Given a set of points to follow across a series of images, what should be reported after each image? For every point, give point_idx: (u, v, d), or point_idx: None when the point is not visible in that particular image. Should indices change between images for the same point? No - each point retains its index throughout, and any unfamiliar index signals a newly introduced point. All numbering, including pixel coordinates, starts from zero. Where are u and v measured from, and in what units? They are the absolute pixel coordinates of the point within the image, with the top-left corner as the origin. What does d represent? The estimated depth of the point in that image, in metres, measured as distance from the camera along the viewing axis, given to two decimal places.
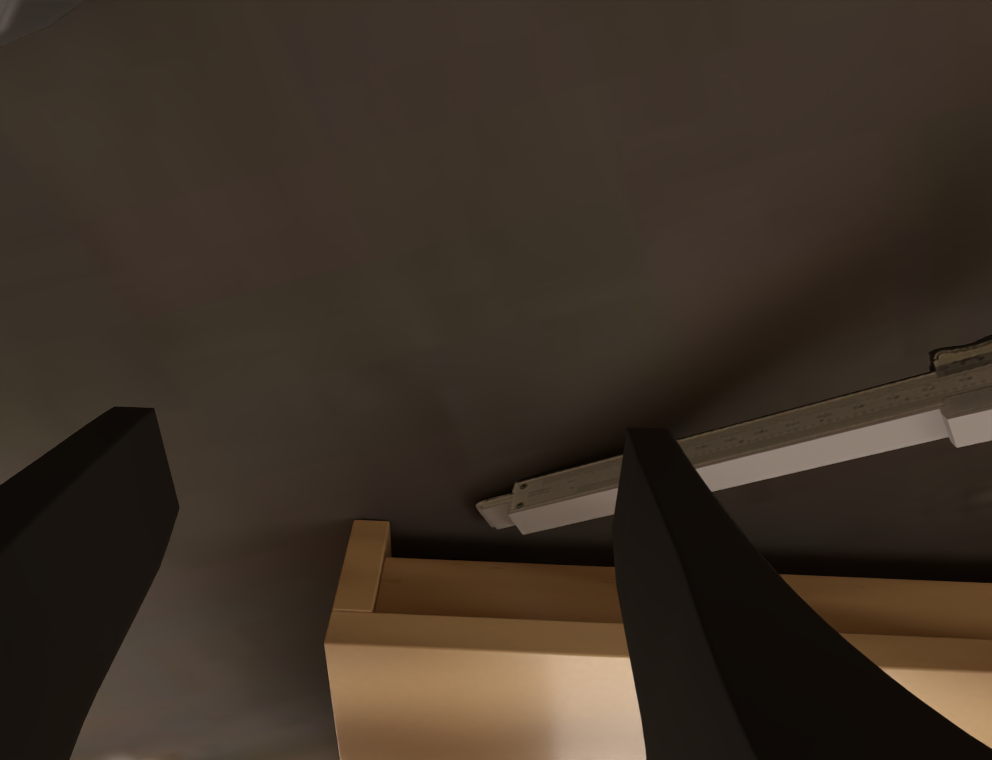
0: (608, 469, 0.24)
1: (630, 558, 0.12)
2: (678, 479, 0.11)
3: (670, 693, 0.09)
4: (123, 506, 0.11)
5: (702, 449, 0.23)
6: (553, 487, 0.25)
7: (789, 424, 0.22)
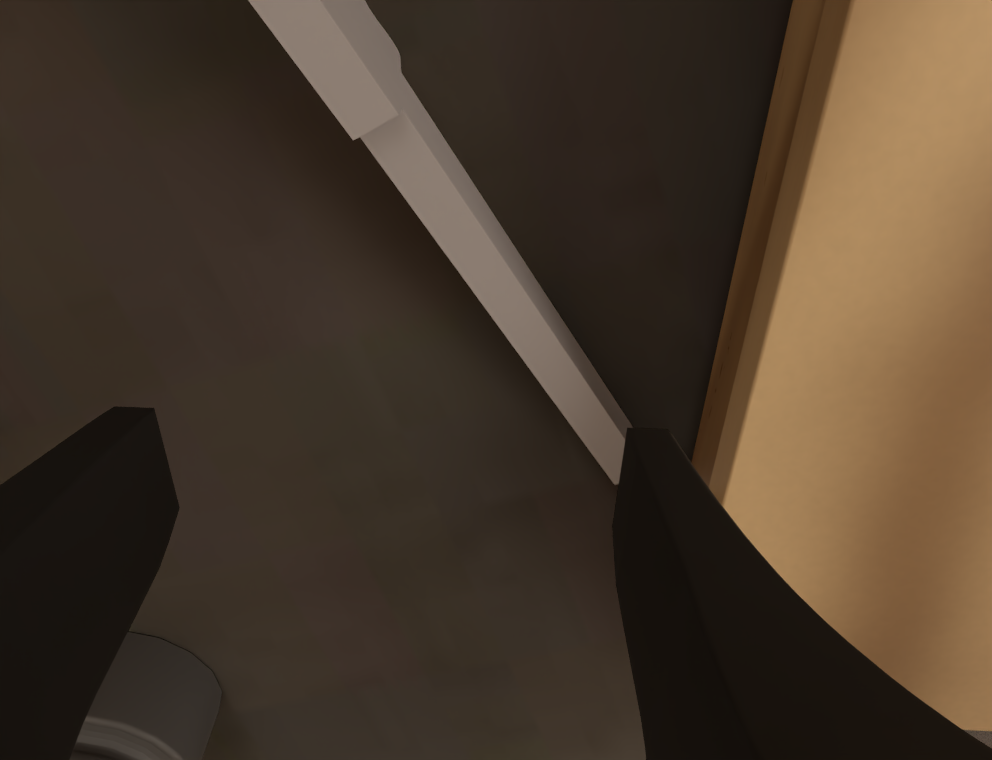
0: None
1: (629, 558, 0.12)
2: (678, 479, 0.11)
3: (670, 693, 0.09)
4: (123, 506, 0.11)
5: None
6: None
7: None
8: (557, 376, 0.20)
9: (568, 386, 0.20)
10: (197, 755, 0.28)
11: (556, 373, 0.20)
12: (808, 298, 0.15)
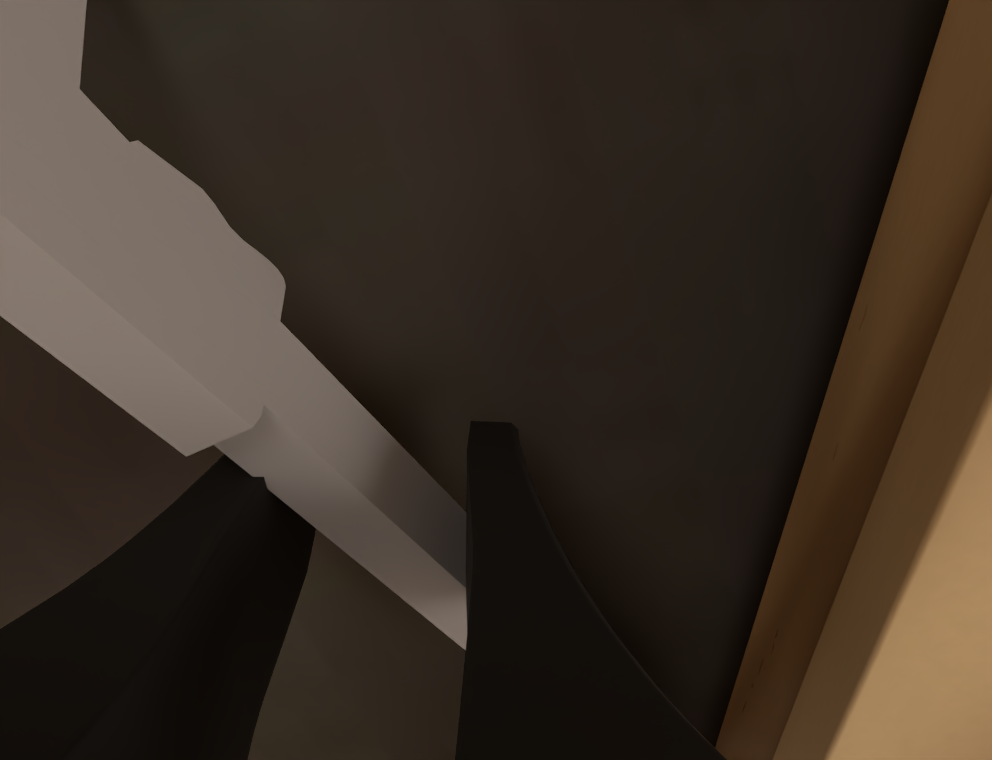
0: None
1: (467, 551, 0.12)
2: (500, 472, 0.11)
3: None
4: (286, 513, 0.11)
5: None
6: None
7: None
8: None
9: None
10: None
11: None
12: (913, 682, 0.10)
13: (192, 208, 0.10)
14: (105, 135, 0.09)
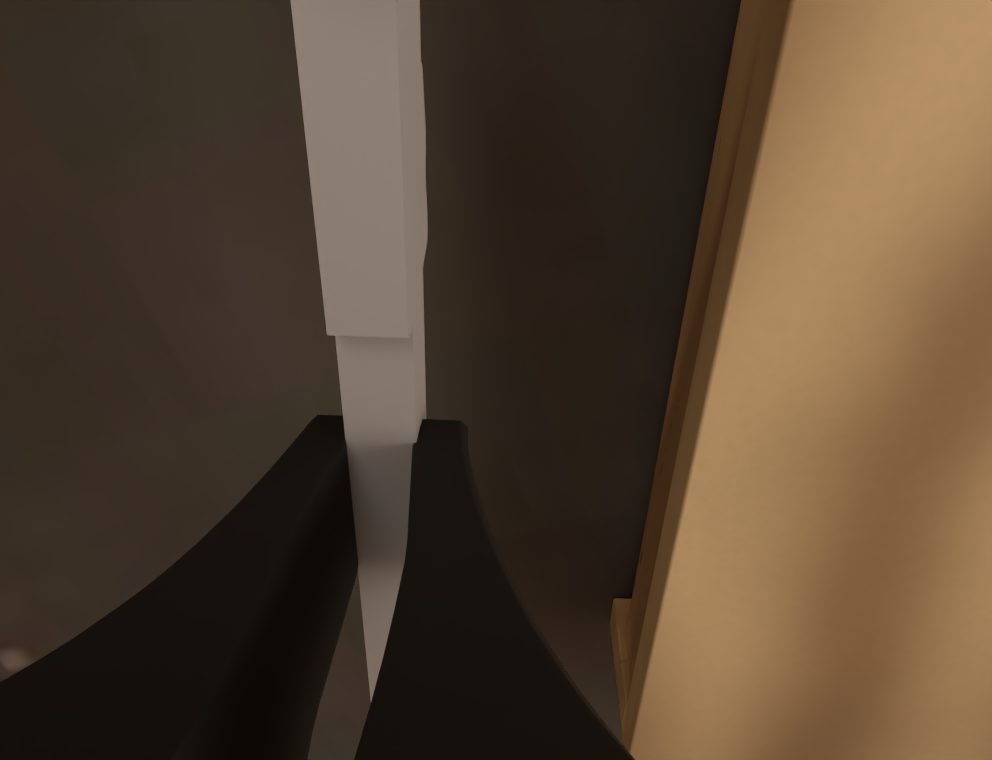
0: None
1: None
2: (443, 469, 0.11)
3: None
4: (341, 515, 0.11)
5: None
6: None
7: None
8: None
9: None
10: None
11: None
12: (744, 374, 0.15)
13: (422, 140, 0.11)
14: (419, 46, 0.10)
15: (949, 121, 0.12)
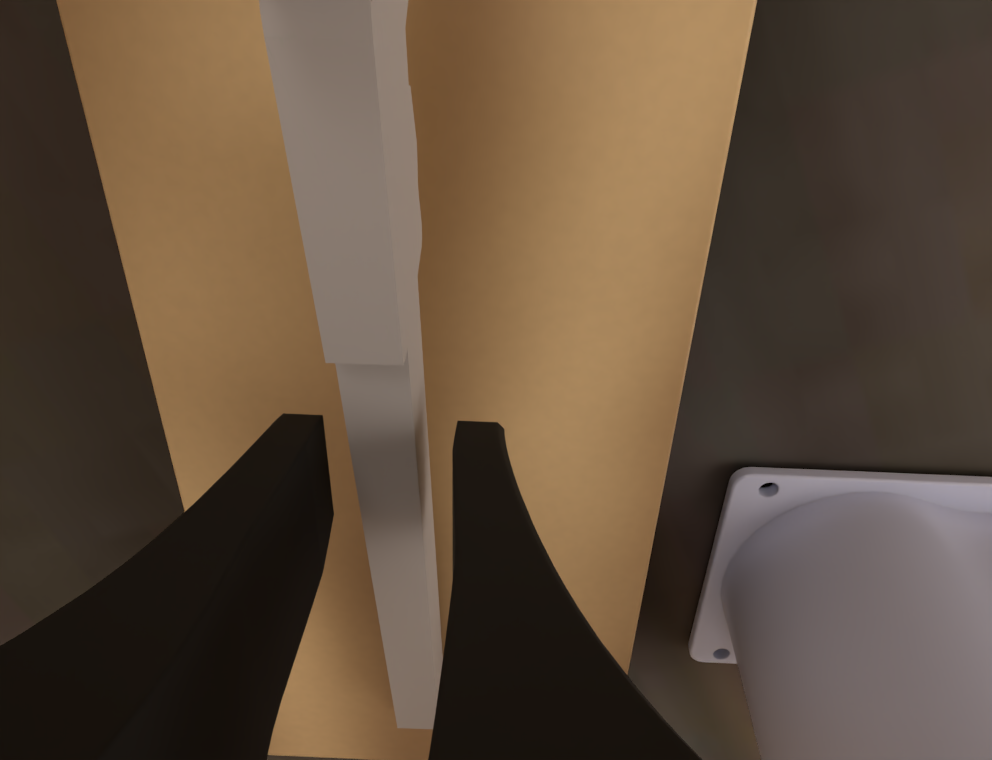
0: None
1: None
2: (484, 471, 0.11)
3: None
4: (303, 514, 0.11)
5: None
6: None
7: None
8: (404, 632, 0.16)
9: (410, 644, 0.16)
10: None
11: (406, 630, 0.16)
12: (176, 353, 0.15)
13: (413, 157, 0.11)
14: (405, 74, 0.10)
15: (257, 97, 0.12)
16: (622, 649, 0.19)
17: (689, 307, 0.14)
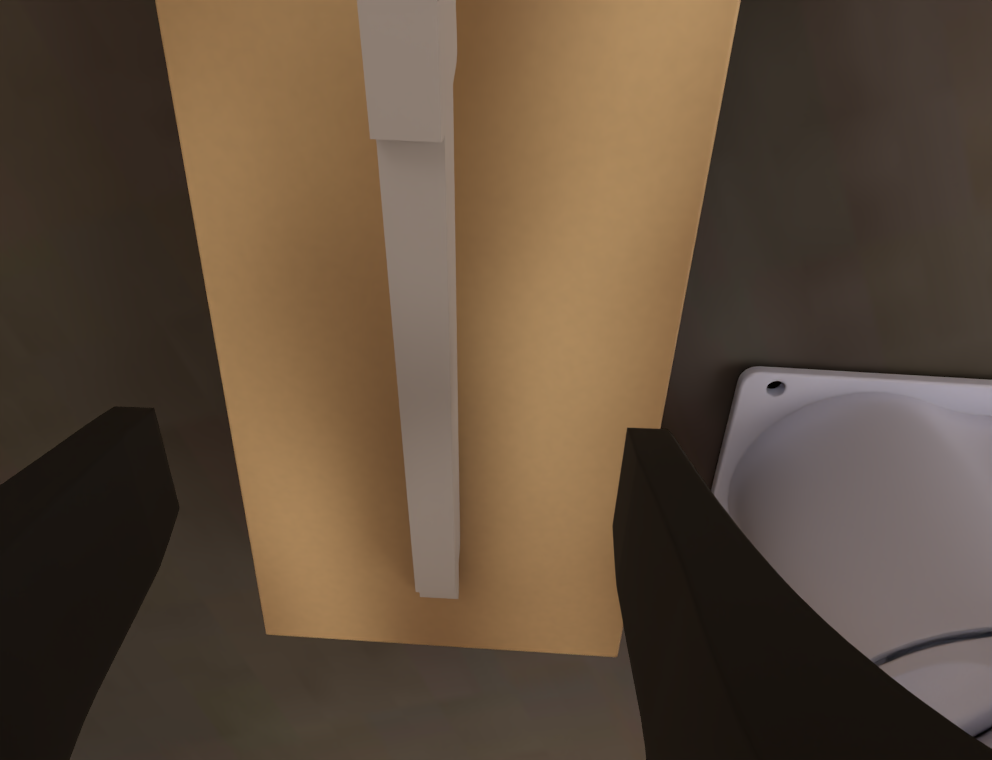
0: None
1: (630, 558, 0.12)
2: (678, 479, 0.11)
3: (670, 693, 0.09)
4: (124, 506, 0.11)
5: None
6: None
7: None
8: (427, 473, 0.17)
9: (432, 487, 0.17)
10: None
11: (428, 470, 0.17)
12: (219, 197, 0.16)
13: None
14: None
15: None
16: None
17: (703, 153, 0.15)
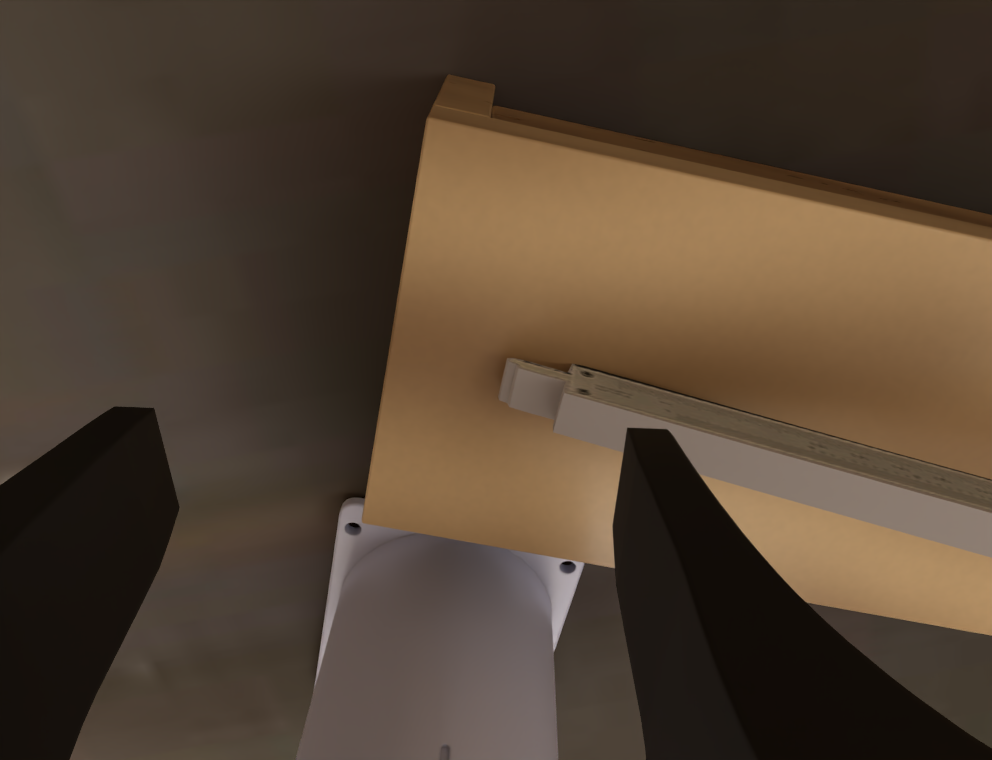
0: (722, 416, 0.17)
1: (629, 558, 0.12)
2: (678, 479, 0.11)
3: (670, 693, 0.09)
4: (123, 506, 0.11)
5: (862, 459, 0.17)
6: (637, 397, 0.17)
7: (980, 490, 0.17)
8: (779, 474, 0.17)
9: (755, 471, 0.17)
10: None
11: (783, 477, 0.17)
12: None
13: None
14: None
15: None
16: (566, 552, 0.21)
17: (913, 617, 0.21)
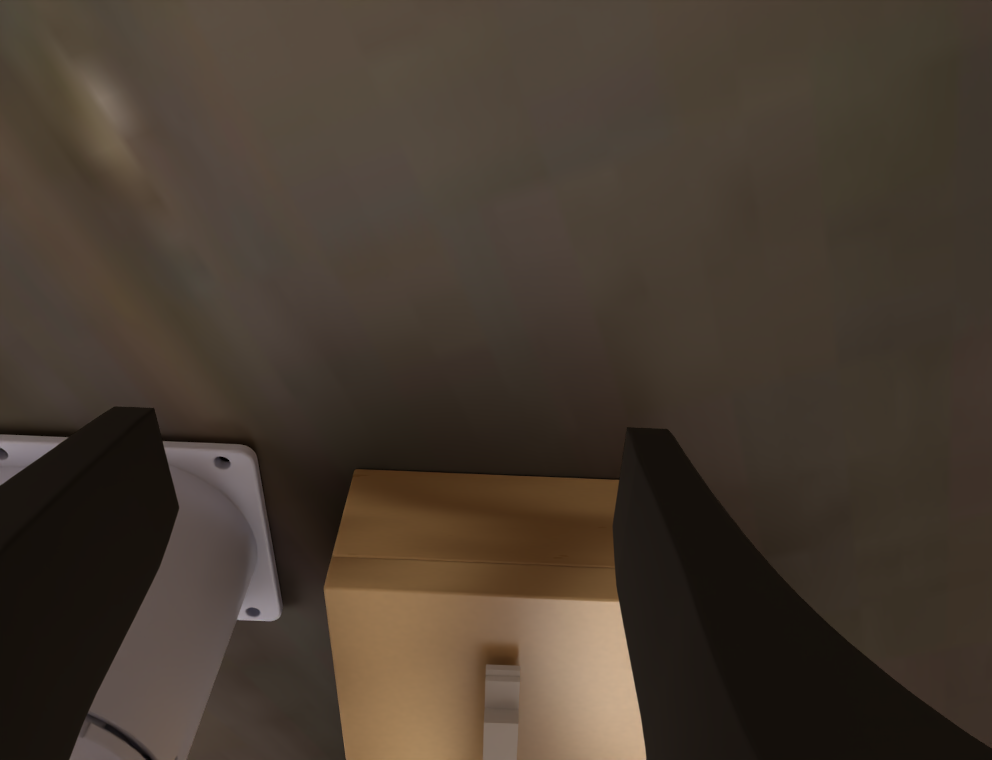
0: None
1: (629, 558, 0.12)
2: (678, 479, 0.11)
3: (670, 693, 0.09)
4: (124, 506, 0.11)
5: None
6: None
7: None
8: None
9: None
10: None
11: None
12: None
13: None
14: None
15: None
16: (346, 703, 0.25)
17: None
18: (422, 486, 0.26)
